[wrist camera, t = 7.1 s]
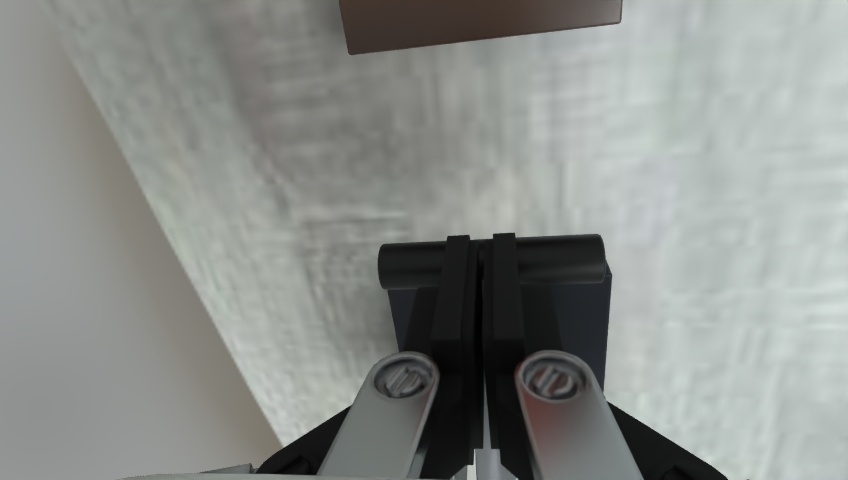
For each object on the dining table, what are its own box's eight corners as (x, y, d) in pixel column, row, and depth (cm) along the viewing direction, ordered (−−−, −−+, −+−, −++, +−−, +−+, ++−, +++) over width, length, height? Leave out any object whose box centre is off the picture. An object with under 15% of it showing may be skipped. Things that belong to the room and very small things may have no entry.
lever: (392, 244, 15) (370, 243, 13) (592, 235, 14) (609, 231, 12) (408, 638, 15) (389, 712, 12) (614, 657, 14) (637, 743, 11)
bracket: (390, 266, 21) (275, 595, 10) (606, 258, 19) (757, 635, 8) (419, 425, 26) (363, 769, 15) (595, 428, 24) (682, 815, 13)
